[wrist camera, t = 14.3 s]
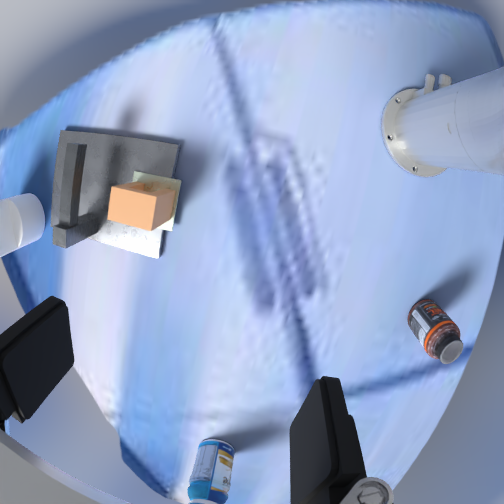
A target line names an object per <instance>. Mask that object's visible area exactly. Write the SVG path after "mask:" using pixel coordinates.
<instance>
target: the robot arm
mask: <svg viewBox="0 0 504 504" xmlns="http://www.w3.org/2000/svg"><path fill="white" fill-rule="evenodd" d="M451 81H452V79H451V77H449V76H448V75H445V74H440V75H439V82H438V86H439V87H438V90H435V91H433V87H434V83H435V77H434V76H433V75H431V74H426V77H425V87H424V88H422V89H406V90H403V91H401V92H399V93H397V94H395V95H394V96H393V97H392V98H391V99H390V100H389V101H388V103H387V104H386V106H385V108H384V111H383V114H382V119H381V130H382V137H383V140H384V144H385V146H386V148H387V150H388V153H389V154H390V156H391V157H392V159H393V160H394V161H395V162H396V163H397V164H398V165H399V166H400V167H401V168H402V169H404V170H405V171H406V172H408V173H410V174H413V175H416V176H420V177H433V176H436V175H439V174H441V173H442V172H444V171H445V170H446V169H447V168H451V169H460V170H468V171H475V172H482V173H489V174H496V175H504V66H503V67H501V68H498V69H495V70H493V71H490V72H487V73H485V74H482V75H479V76H475V77H472V78H470V79H467V80H464V81H461V82H458V83H455V84H452V85H451ZM395 100H396V101H397V103H396V101H395ZM388 136H389V139H388ZM413 167H414V170H413ZM73 364H74V354H73V347H72V340H71V332H70V323H69V313H68V307H67V306H66V304H65V302H64V301H63V300H61V299H59V298H56V297H54V296H50V297H49V298H47V299H46V300H44V301H43V302H42V303H40V304H39V305H38V306H36V307H35V308H34V309H32V310H31V311H30V312H28V313H27V314H26V315H24V316H23V317H22V318H21V319H19V320H18V321H17V322H16V323H14V324H13V325H12V326H10V327H9V328H8V329H7V330H6V331H4V332H3V333H2V334H1V335H0V504H132V503H130V502H127V501H124V500H122V499H119V498H117V497H115V496H112V495H110V494H107V493H105V492H103V491H101V490H98V489H96V488H94V487H92V486H90V485H88V484H86V483H84V482H82V481H80V480H78V479H76V478H74V477H73V476H71V475H69V474H67V473H65V472H63V471H62V470H60V469H58V468H57V467H55V466H53V465H51V464H50V463H48V462H47V461H45V460H43V459H42V458H40V457H39V456H37V455H35V454H34V453H33V452H31V451H30V450H28V449H27V448H25V447H24V446H22V445H21V444H19V443H18V442H17V441H16V440H14V439H13V438H11V437H10V429H9V417H10V416H11V415H12V417H14V418H15V419H16V420H18V421H19V422H20V423H23V422H24V421H25V420H26V419H30V418H31V416H32V415H33V414H34V413H35V411H36V410H37V409H38V408H39V406H40V405H41V404H42V402H43V401H44V400H45V399H46V397H47V396H48V395H49V394H50V393H51V391H52V390H53V389H54V388H55V386H56V385H57V384H58V383H59V382H60V380H61V379H62V378H63V377H64V375H65V374H66V373H67V372H68V371H69V370H70V368H71V367H72V366H73ZM290 485H291V504H393V503H392V502H393V492H392V489H391V488H390V486H389V485H388V484H387V483H386V482H385V481H383V480H381V479H379V478H374V477H368V478H367V475H366V470H365V466H364V461H363V457H362V452H361V448H360V443H359V439H358V435H357V430H356V426H355V422H354V419H353V417H352V416H351V415H348V411H347V407H346V403H345V399H344V395H343V390H342V386H341V382H340V380H339V378H334V377H327V376H323V377H322V378H321V379H317V380H316V381H315V382H314V384H313V386H312V388H311V390H310V392H309V394H308V395H307V397H306V399H305V401H304V403H303V405H302V406H301V408H300V410H299V412H298V414H297V415H296V417H295V419H294V421H293V422H292V424H291V427H290Z"/></svg>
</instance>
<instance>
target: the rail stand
mask: <svg viewBox="0 0 504 504" xmlns="http://www.w3.org/2000/svg"><path fill="white" fill-rule="evenodd" d="M180 146H181V145H177V144H171V143H165V142H159V141H152V140H146V139H139V138H132V137H124V136H116V135H108V134H99V133H89V132H77V131H64V130H61V132H60V137H59V143H58V150H57V156H56V164H55V172H54V182H53V193H52V208H51V227H53V244H54V245H57V246H60V247H63V248H68V247H70V246H72V245H74V244H76V243H78V242H80V241H82V240H84V239H86V238H89V239H92V240H95V241H99V242H102V243H105V244H109V245H112V246H115V247H119V248H122V249H126V250H129V251H133V252H136V253H140V254H143V255H147V256H150V257H154V258H157V259H158V258H160V257H161V250H162V243H163V236H164V230H167V231H171V232H172V231H173V225H174V219H175V214H176V208H177V203H178V197H179V192H180V187H181V182H182V180H177V179H174V174H175V169H176V165H177V160H178V155H179V151H180ZM131 182H140V183H145V185H144V191H146V192H151V193H152V192H155V191H158V190H162V189H165V188H167V189H171V190H175V191H176V192H175V197H174V202H173V207H172V213H171V218H170V220H169V221H167V222H166V223H164V224H162V225H161V226H159V227H157V228H156V229H154V230H153V231H148V230H144V229H140V228H137V227H133V226H129V225H126V224H122V223H118V222H115V221H111V220H107V218H108V210H109V202H110V194H111V187H112V186H117V185H121V184H126V183H131Z"/></svg>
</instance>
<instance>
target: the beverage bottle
mask: <svg viewBox="0 0 504 504" xmlns="http://www.w3.org/2000/svg"><path fill="white" fill-rule="evenodd" d="M234 453H235V451H234V448H233V447H232V446H231V445H230V444H228V443H227V442H224V441H221V440H216V439H208V440H204V441H202V442H201V443H200V444H199V447H198V453H197V457H196V460H195V464H194V468H193V472H192V475H191V476H190V480H189V483H190V486H189V487H188V496H189V498H190V501H191V502H190V503H189V504H224V503H225V502H226V500H227V498H228V494H227V492H228V491H229V489H230V480H231V472H232V465H233V458H234Z"/></svg>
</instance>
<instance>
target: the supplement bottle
mask: <svg viewBox="0 0 504 504" xmlns="http://www.w3.org/2000/svg"><path fill="white" fill-rule="evenodd" d="M408 325H409V327H410V328H411V330H412V331H413V333H414V334H415V336H416V337H417V339H418V340H419V342H420V343H421V345H422V346H423V348H424V349H425V350H426V352H427V353H428V355H429V356H430V357H432V358H435V359H440V361H441V362H442V363H444V364H448V363H451V362H453V361H454V360H456V359H457V358H458V357H459V356H460V354H461V352H462V350H463V343H462V341H461V340H460V330H459V328H458V326H457V325H456V324H455V323H454V322H453V321H452V320H451V319H450V317H449V316H448V315H447V314H446V313H445V312H444V311H443V310H442V309H441V308H440V307H439V306H438V305H437V304H436V303H435V302H434V301H432V300H429V299H426V300H422V301H419V302H418V303H416V304H415V305H414V306H413V308H412V309H411V310H410V312H409V315H408Z"/></svg>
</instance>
